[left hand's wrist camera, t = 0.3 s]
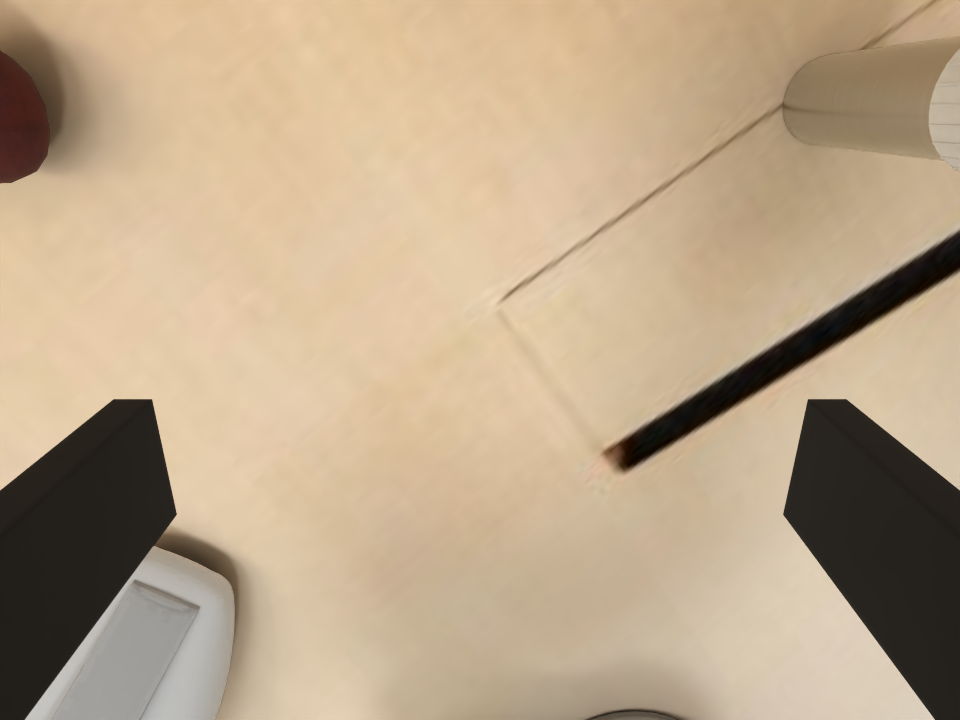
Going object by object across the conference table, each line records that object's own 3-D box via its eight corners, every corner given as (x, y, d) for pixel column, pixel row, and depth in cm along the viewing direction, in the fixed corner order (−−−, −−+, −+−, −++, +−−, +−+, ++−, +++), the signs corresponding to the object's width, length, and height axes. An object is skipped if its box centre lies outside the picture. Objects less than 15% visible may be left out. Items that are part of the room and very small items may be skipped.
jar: (802, 161, 38) (999, 196, 23) (769, 87, 36) (957, 76, 22) (880, 113, 37) (1136, 119, 22) (849, 35, 35) (1102, -12, 21)
